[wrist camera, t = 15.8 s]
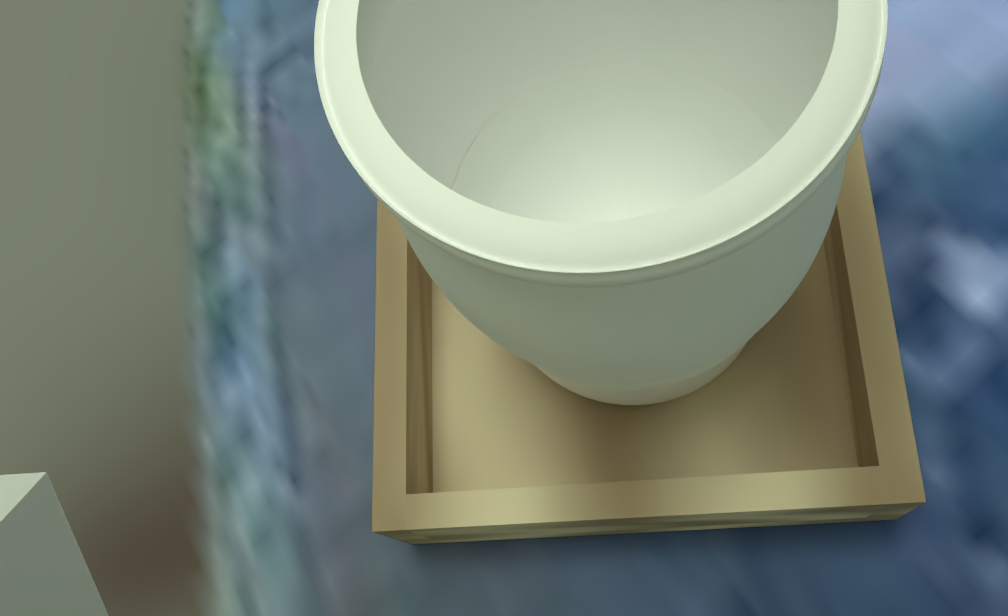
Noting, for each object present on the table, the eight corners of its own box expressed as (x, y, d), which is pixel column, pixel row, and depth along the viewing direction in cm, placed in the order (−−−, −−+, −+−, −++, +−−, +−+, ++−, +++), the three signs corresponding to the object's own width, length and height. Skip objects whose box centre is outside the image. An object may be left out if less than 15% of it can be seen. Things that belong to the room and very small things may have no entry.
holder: (819, 61, 34) (835, -11, 30) (896, 519, 28) (926, 501, 24) (412, 114, 36) (379, 55, 32) (411, 543, 31) (372, 531, 27)
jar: (411, 305, 32) (202, 60, 18) (605, 88, 33) (550, -298, 19) (657, 510, 29) (634, 402, 15) (863, 258, 30) (1023, -63, 16)
